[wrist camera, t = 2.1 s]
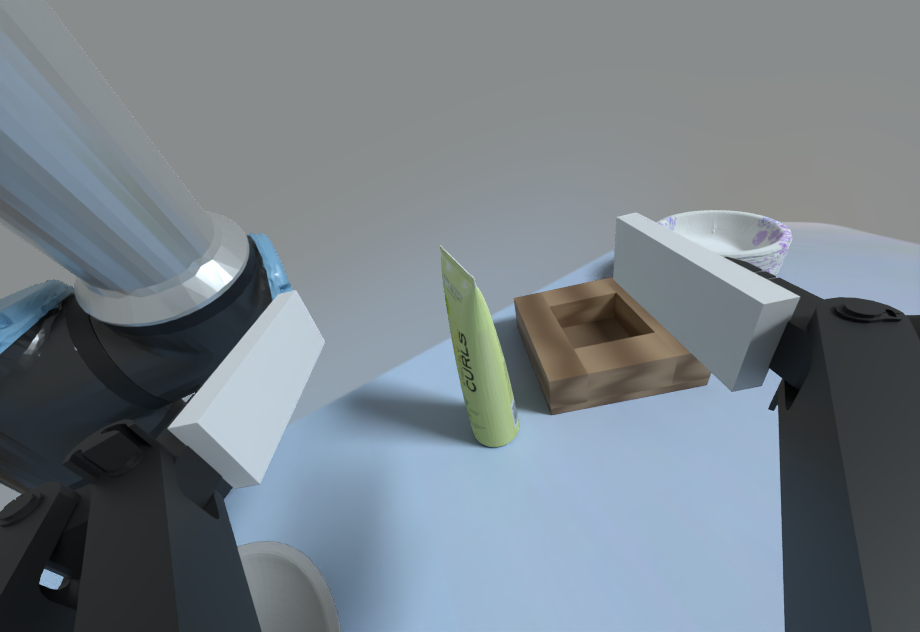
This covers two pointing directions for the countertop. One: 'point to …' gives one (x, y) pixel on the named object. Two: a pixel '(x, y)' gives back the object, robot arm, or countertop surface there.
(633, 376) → the socket block
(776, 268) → the paper bowls
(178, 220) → the robot arm
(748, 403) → the countertop surface
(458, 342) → the tube
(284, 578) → the dish
